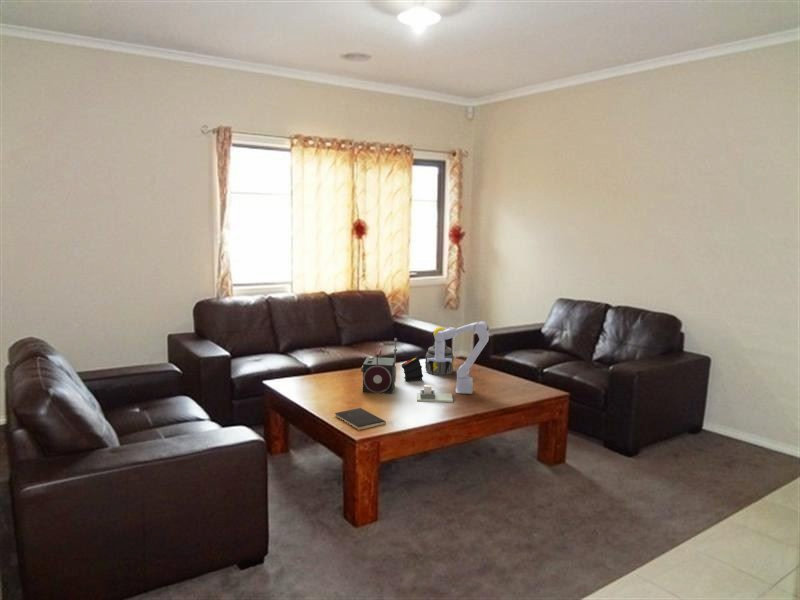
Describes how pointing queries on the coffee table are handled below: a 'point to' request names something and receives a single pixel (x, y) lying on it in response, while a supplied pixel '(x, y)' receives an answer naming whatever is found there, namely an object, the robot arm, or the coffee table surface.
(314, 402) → the coffee table surface
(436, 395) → the plate
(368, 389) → the boombox
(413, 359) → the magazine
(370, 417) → the hardcover book
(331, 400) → the coffee table surface
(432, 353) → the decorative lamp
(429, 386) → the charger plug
